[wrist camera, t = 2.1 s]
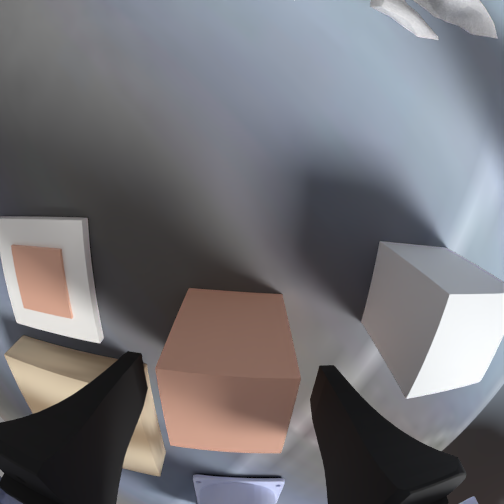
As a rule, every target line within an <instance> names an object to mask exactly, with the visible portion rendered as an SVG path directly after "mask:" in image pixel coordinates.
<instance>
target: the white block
mask: <svg viewBox="0 0 504 504" xmlns="http://www.w3.org/2000/svg"><path fill="white" fill-rule="evenodd" d="M361 323H362V324H363V326H364V327H365V329H366V331H367V332H368V334H369V336H370V337H371V339H372V341H373V342H374V344H375V346H376V347H377V349H378V351H379V352H380V354H381V356H382V357H383V359H384V361H385V363H386V364H387V366H388V368H389V369H390V371H391V373H392V375H393V376H394V378H395V380H396V382H397V383H398V385H399V387H400V389H401V390H402V392H403V394H404V396H405V398H406V399H408V398H413V397H419V396H424V395H429V394H434V393H438V392H443V391H447V390H451V389H455V388H459V387H463V386H467V385H470V384H474V383H477V382H480V381H481V379H482V378H483V376H484V374H485V372H486V370H487V368H488V366H489V364H490V363H491V361H492V359H493V357H494V355H495V353H496V350H497V348H498V346H499V344H500V342H501V340H502V337H503V335H504V282H503V281H502V280H500V279H498V278H497V277H495V276H494V275H492V274H491V273H489V272H487V271H486V270H484V269H482V268H481V267H479V266H478V265H476V264H474V263H473V262H471V261H469V260H468V259H466V258H464V257H462V256H461V255H459V254H457V253H455V252H454V251H452V250H450V249H448V248H445V247H435V246H425V245H415V244H405V243H395V242H384V241H380V242H379V247H378V252H377V257H376V262H375V267H374V272H373V276H372V281H371V285H370V289H369V294H368V298H367V302H366V306H365V310H364V313H363V317H362V321H361Z"/></svg>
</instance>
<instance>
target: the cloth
mask: <svg viewBox="0 0 504 504" xmlns="http://www.w3.org/2000/svg"><path fill="white" fill-rule="evenodd" d="M414 1H415V2H416V3H418V4H419V5H420V6H422V7H423V8H424V9H425V10H427V11H428V12H429V13H430V14H432V15H433V16H434V17H436V18H439V19H442V20H443V21H445V22H447V23H451V24H454V25H457V26H459V27H461V28H463V29H464V30H466V31H467V32H468V33H470V34H471V35H479V36H485V37H492V38H497V39H498V37H497V33H496V29H495V25H494V22H493V20H492V18H491V17H490V15H489V13H488V12H487V10H486V8H485V7H484V5H483V4H482V3H481V2H480V0H414ZM370 7H372V8H374V9H375V10H377V11H379V12H381V13H383V14H385V15H387V16H389V17H391V18H392V19H394V20H395V21H396V22H398V23H399V24H400V25H402V26H403V27H404V28H405V29H407V30H409V31H411V32H412V33H414V34H415V35H416V36H417V37H421V38H428V39H434V40H438V36H437V35H436V34H435V33H434V32H433V31H432V29H431V28H430V27H429V26H428V25H427V23H426V22H425V21H424V20H423V19H422V17H421V16H420V15H419V14H418V13H417V12H416V11H415V10H414V9H412V8H411V7H410V6H409V5H408V4H407V3H406V2H405V0H371V3H370Z"/></svg>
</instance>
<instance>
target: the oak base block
mask: <svg viewBox="0 0 504 504" xmlns="http://www.w3.org/2000/svg"><path fill="white" fill-rule="evenodd" d="M4 355H5V358H6V360H7V362H8V365H9V367H10V369H11V371H12V374H13V376H14V378H15V380H16V382H17V384H18V386H19V388H20V390H21V392H22V394H23V396H24V398H25V400H26V402H27V404H28V406H29V407H30V409H31V411H32V413H33V414H34V413H37V412H40V411H42V410H44V409H46V408H48V407H51V406H53V405H55V404H57V403H59V402H61V401H62V400H64V399H66V398H68V397H69V396H71V395H73V394H74V393H76V392H77V391H79V390H80V389H82V388H83V387H84V386H86V385H87V384H88V383H90V382H91V381H93V380H94V379H95V378H96V377H98V376H99V375H100V374H101V373H102V372H104V371H105V370H106V369H107V368H109V367H110V366H111V365H112V364H113V363H114V362H116V361H117V360H118V359H115V358H110V357H105V356H100V355H96V354H91V353H87V352H82V351H78V350H74V349H70V348H66V347H62V346H59V345H55V344H51V343H48V342H44V341H41V340H38V339H34V338H31V337H28V336H25V335H23V336H22V337H21V338H20V339H19V340H18V341H17V342H16V343H15V344H14V345H13V346H12V347H11V348H10V349H9V350H8V351H7V352H6V353H5V354H4ZM143 365H144V371H145V376H146V381H147V386H148V390H147V394H146V399H145V403H144V407H143V410H142V412H141V415H140V418H139V420H138V423H137V425H136V428H135V430H134V433H133V435H132V438H131V441H130V443H129V446H128V448H127V452H126V455H125V458H124V463H123V467H122V468H124V469H128V470H132V471H136V472H140V473H145V474H149V475H154V476H159V477H160V476H161V471H162V467H163V462H164V458H165V454H166V451H165V447H164V443H163V440H162V436H161V432H160V428H159V423H158V419H157V415H156V410H155V406H154V401H153V396H152V391H151V386H150V381H149V375H148V369H147V364H143Z"/></svg>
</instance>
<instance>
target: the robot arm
mask: <svg viewBox="0 0 504 504" xmlns="http://www.w3.org/2000/svg"><path fill="white" fill-rule="evenodd" d="M147 390H148V386H147V381H146V376H145V371H144V365H143V360H142V354H141V353H135V352H129V351H128V352H126V353H125V354H124V355H123V356H122V357H120V358H119V359H118V360H117V361H116V362H114V363H113V364H112V365H111V366H110V367H109V368H107V369H106V370H105V371H104V372H102V373H101V374H100V375H99V376H98V377H96V378H95V379H94V380H93V381H91V382H90V383H88V384H87V385H86V386H84V387H83V388H82V389H80V390H79V391H77V392H76V393H74V394H73V395H71V396H69V397H68V398H66V399H64V400H62V401H61V402H59V403H57V404H55V405H53V406H51V407H48V408H46V409H44V410H42V411H40V412H37V413H34V414H32V415H29V416H26V417H22V418H19V419H15V420H11V421H6V422H1V423H0V469H1V470H2V471H3V472H4V475H3V477H0V504H116V501H117V494H118V487H119V482H120V477H121V472H122V467H123V463H124V458H125V455H126V452H127V448H128V446H129V443H130V441H131V438H132V435H133V433H134V430H135V428H136V425H137V423H138V420H139V418H140V415H141V412H142V410H143V407H144V403H145V399H146V394H147ZM310 403H311V412H312V420H313V424H314V428H315V432H316V436H317V440H318V444H319V448H320V452H321V456H322V460H323V464H324V470H325V478H326V486H327V498H328V504H448V499H447V497H446V496H447V495H448V494H449V493H451V492H452V491H453V490H454V489H455V488H456V487H457V486H459V485H460V484H461V483H462V481H463V480H464V479H465V477H466V472H465V470H464V468H463V466H462V464H461V462H460V460H459V459H458V457H455V456H453V455H450V454H447V453H444V452H441V451H438V450H436V449H434V448H432V447H430V446H427V445H425V444H423V443H421V442H419V441H418V440H416V439H414V438H412V437H411V436H409V435H407V434H406V433H404V432H403V431H401V430H400V429H398V428H397V427H395V426H394V425H393V424H391V423H390V422H389V421H388V420H386V419H385V418H384V417H383V416H381V415H380V414H379V413H378V412H377V411H376V410H375V409H374V408H372V407H371V406H370V405H369V404H368V403H367V402H366V401H365V400H364V399H363V398H362V397H361V396H360V394H359V393H358V392H357V391H356V390H355V389H354V388H353V387H352V386H351V385H350V383H349V382H348V381H347V380H346V379H345V378H344V376H343V375H342V374H341V373H340V372H339V371H338V370H337V368H336V367H335V366H334V365H327V366H319V370H318V373H317V377H316V381H315V384H314V388H313V391H312V395H311V398H310ZM193 483H194V488H195V492H196V497H197V501H198V504H276V502H277V500H278V498H279V495H280V493H281V491H282V488H283V486H284V483H285V481H284V479H282V478H233V477H218V476H207V475H197V474H196V475H193ZM459 504H478V503H477V500H476V498H475V497H471V498H469V499H467V500H465V501H463V502H461V503H459Z"/></svg>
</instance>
